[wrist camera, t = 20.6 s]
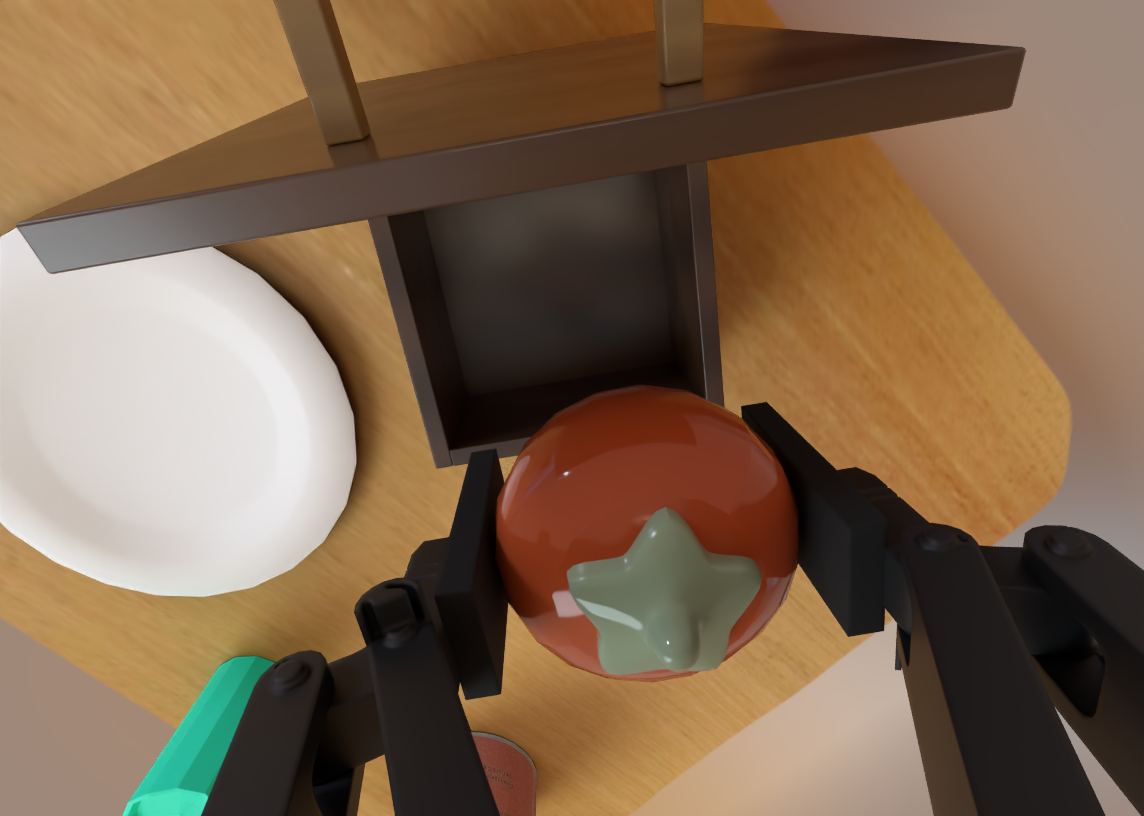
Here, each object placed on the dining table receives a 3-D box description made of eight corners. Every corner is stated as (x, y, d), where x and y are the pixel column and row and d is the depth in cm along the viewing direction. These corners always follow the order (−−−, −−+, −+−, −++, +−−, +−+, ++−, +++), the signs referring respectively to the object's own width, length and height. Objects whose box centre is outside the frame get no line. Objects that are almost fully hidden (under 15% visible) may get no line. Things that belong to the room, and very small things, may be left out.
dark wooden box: (685, 368, 38) (725, 420, 30) (459, 407, 38) (435, 469, 30) (657, 75, 32) (698, 37, 23) (388, 122, 32) (334, 101, 24)
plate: (421, 332, 36) (415, 339, 35) (295, 629, 44) (286, 646, 42) (-25, 129, 31) (-55, 126, 30) (-81, 504, 39) (-107, 518, 37)
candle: (198, 666, 44) (82, 829, 33) (273, 647, 44) (181, 805, 33) (235, 722, 46) (138, 893, 35) (307, 704, 46) (232, 871, 35)
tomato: (508, 571, 19) (487, 817, 12) (495, 351, 17) (457, 488, 9) (732, 562, 20) (850, 797, 12) (754, 344, 17) (925, 472, 9)
